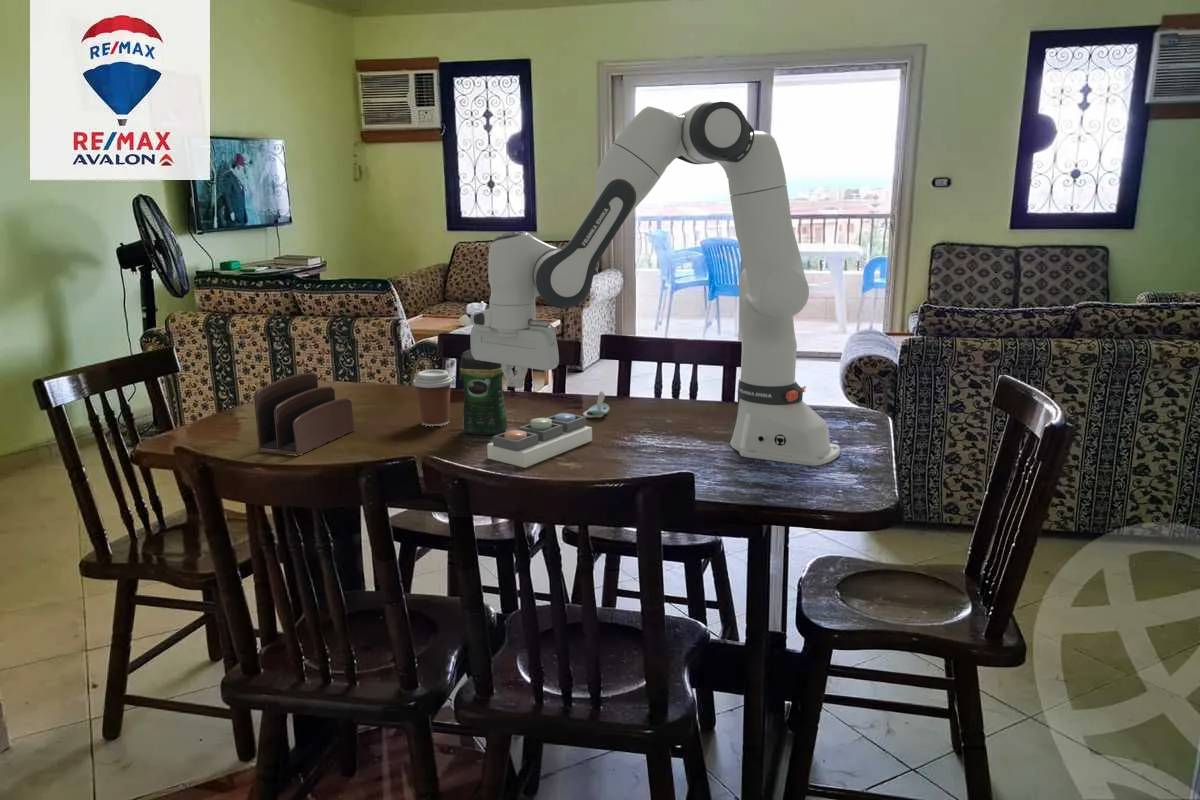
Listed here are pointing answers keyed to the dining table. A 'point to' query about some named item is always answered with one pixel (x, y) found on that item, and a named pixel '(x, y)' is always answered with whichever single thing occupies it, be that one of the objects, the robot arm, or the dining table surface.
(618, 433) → the dining table surface
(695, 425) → the dining table surface
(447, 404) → the coffee cup
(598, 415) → the pacifier
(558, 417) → the blue button
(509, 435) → the terracotta button
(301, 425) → the letter holder
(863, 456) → the dining table surface
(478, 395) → the coffee jar
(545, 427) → the sage button
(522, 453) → the button panel
